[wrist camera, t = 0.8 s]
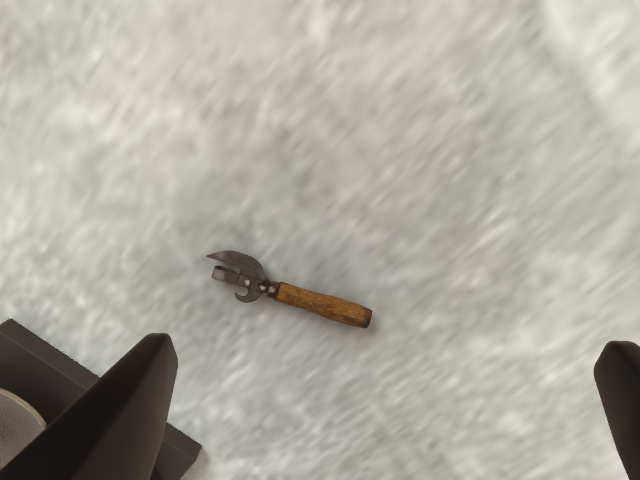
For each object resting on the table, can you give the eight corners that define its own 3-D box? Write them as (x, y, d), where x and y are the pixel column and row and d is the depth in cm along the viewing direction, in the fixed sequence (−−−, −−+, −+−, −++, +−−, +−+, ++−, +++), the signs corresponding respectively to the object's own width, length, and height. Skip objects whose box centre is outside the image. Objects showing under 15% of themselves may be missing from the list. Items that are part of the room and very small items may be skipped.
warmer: (202, 445, 26) (185, 486, 23) (124, 534, 28) (100, 582, 26) (10, 318, 25) (-34, 345, 22) (-57, 423, 27) (-106, 460, 24)
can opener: (373, 306, 23) (375, 315, 22) (355, 342, 24) (355, 354, 23) (213, 238, 23) (206, 244, 22) (198, 277, 23) (191, 285, 22)
